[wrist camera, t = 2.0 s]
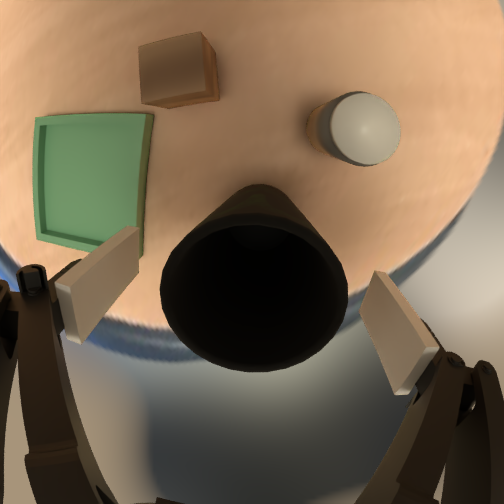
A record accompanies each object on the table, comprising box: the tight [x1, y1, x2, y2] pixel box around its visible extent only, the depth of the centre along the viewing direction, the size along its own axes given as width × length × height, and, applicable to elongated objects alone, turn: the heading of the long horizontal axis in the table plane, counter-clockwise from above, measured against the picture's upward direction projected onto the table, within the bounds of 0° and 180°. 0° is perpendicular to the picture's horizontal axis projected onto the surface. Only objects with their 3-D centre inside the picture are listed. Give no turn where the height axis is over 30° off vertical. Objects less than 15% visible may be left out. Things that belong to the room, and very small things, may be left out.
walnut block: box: [139, 32, 220, 109], centre depth 16 cm, size 4×4×5 cm
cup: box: [160, 184, 348, 372], centre depth 17 cm, size 8×8×12 cm
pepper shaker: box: [306, 91, 400, 167], centre depth 15 cm, size 4×4×8 cm
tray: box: [33, 113, 154, 259], centre depth 20 cm, size 12×12×2 cm
